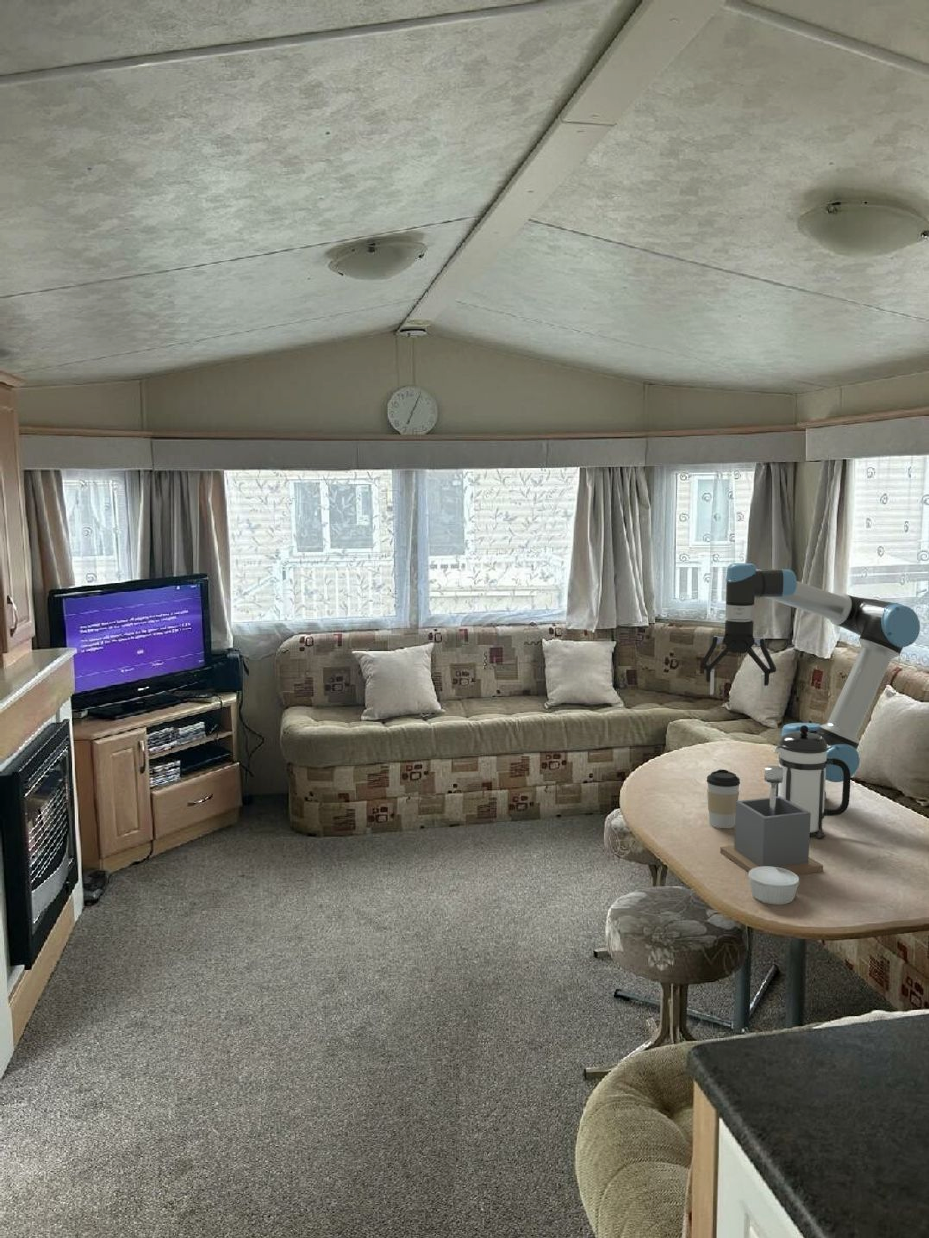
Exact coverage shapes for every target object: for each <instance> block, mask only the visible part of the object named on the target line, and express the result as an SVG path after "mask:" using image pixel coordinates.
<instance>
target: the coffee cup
mask: <svg viewBox="0 0 929 1238" xmlns="http://www.w3.org/2000/svg"><path fill="white" fill-rule="evenodd" d="M706 784H707V789H706V794H707V810H708V821H709V826H711V827H713V828H715V827H716V829H721V828H729V829H732V828H735V810H736V801H739V795H740V791H739V790H740V789H739V787H740V784H741V779H740V778H739V777H738V776H737V775H736V774H735V773H734V772H731V771H729V770H727V769H718V770H716V771H712V772H711V773H710V774H709V775H707V777H706Z"/></svg>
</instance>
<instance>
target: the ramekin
mask: <svg viewBox="0 0 929 1238" xmlns="http://www.w3.org/2000/svg"><path fill="white" fill-rule="evenodd" d="M747 873H748V872H747ZM747 875H748V880H749V886H750V892H751V894H752V896H753V898H755V899H756V900H758V901H759V902H761V903H764V904H767V905H776V906H777V905H787V904H789V903H791V902H792V901H794V900H795V897H796V893H797V890H798V886H799V884H800V878H799V875H796V874H794V873H793V872H791V871H789V870H786V869H783V868H778V867H771V866H762V867H756V868H753V869H751V870H750V871H749V873H748V874H747Z"/></svg>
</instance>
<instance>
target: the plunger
mask: <svg viewBox="0 0 929 1238" xmlns="http://www.w3.org/2000/svg"><path fill="white" fill-rule="evenodd" d="M763 780H764V781H765V782H766V783H769V784H770V789H769V797H770V810H769V816H774V815H775V806H776V783H782V782H783V768H782V767H779V766H777V765H766V766H764V779H763Z"/></svg>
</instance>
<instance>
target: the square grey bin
mask: <svg viewBox="0 0 929 1238" xmlns="http://www.w3.org/2000/svg"><path fill="white" fill-rule="evenodd" d="M769 810H770V796H769V797H763V798H761V797H760V798H753V799H744V800H738V801H736V810H735V826H734V843H733V845H727V846H720V851H719V853H720V854H722V855H723V856H724V857H726V858H728V860H730V859H731V860H730V861H731V862H733V863H734V864H736V865H737V866H738V867H740V868H741V869H743V870H744V871H746V872H747V873H749V871H750V870H751V869H753V868H756V867H762V866H771V867H778V868H783V869H786V870H789V871H791V872H793V873H794V874H796V875H797V876H799V875H805V874H813V873H820V872H821V873H822V872H824V865H823V864H821V863H820V862H819V861H817V860H816V859H814V858H812V857H810V838H811V837H810V834H811V833H810V816H811V813H810V812H808V811H806V810H804V809H803V808H801V807H799V806H797V805H795V804H793V803H792V802H790V801H788V800H786V799H784V798H782V797H781V796H778V797H776V806H775V815H774V816H769Z"/></svg>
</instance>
